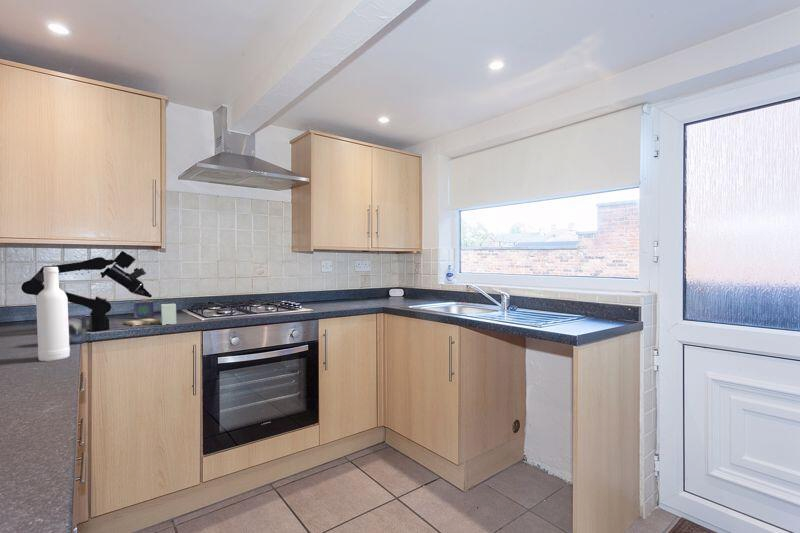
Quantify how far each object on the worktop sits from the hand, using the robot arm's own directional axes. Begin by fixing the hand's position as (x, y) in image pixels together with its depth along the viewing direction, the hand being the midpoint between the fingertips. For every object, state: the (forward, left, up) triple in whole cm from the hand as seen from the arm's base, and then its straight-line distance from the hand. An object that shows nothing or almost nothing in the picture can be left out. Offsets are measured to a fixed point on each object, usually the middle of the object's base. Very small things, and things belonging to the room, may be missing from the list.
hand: (150, 295), depth 197 cm
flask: (+9, +29, -14) cm, 33 cm away
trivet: (0, +10, -14) cm, 17 cm away
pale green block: (+7, -3, -14) cm, 16 cm away
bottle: (-48, -43, -14) cm, 66 cm away
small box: (-37, -18, -14) cm, 44 cm away
